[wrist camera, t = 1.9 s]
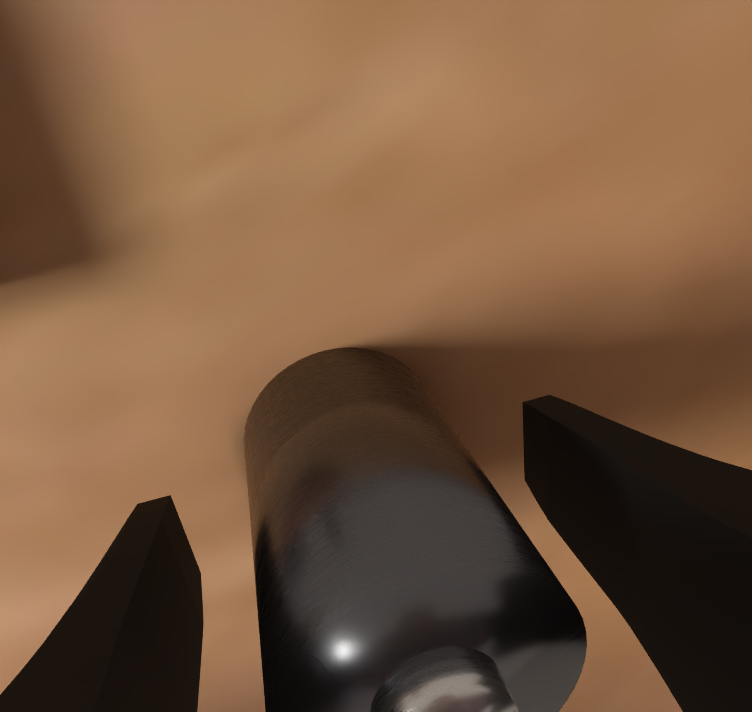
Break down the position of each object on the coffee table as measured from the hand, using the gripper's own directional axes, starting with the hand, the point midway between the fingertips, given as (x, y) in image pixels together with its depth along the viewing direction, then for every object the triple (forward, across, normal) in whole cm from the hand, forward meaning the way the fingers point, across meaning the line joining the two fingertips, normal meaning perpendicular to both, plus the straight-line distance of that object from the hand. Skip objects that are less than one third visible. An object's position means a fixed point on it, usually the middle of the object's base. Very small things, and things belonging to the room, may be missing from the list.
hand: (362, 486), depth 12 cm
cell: (+2, 0, 0) cm, 2 cm away
